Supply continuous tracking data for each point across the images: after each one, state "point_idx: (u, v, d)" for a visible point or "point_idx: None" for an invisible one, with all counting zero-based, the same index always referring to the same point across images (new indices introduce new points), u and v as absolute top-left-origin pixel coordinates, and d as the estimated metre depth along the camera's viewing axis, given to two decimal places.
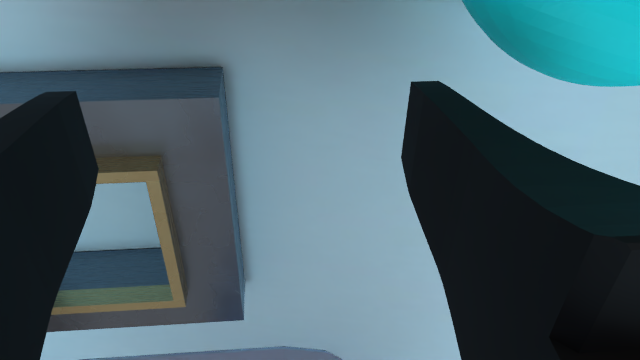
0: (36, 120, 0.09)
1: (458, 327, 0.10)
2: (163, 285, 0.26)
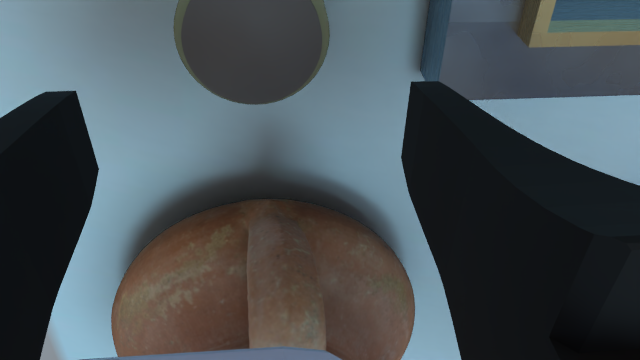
0: (36, 120, 0.09)
1: (458, 327, 0.10)
2: None
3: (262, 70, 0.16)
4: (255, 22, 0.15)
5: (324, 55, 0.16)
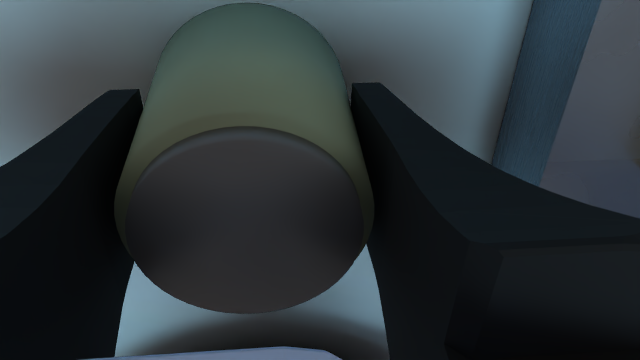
0: (111, 118, 0.10)
1: (388, 332, 0.10)
2: None
3: (263, 272, 0.10)
4: (252, 211, 0.09)
5: (364, 242, 0.10)
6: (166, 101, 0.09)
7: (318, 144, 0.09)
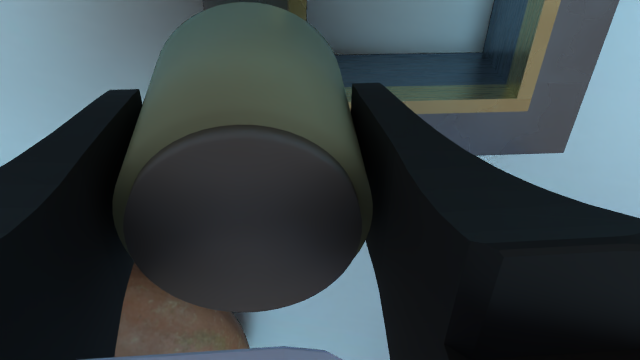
0: (111, 118, 0.10)
1: (388, 332, 0.10)
2: (489, 84, 0.19)
3: (261, 271, 0.10)
4: (250, 209, 0.09)
5: (362, 242, 0.10)
6: (165, 100, 0.09)
7: (316, 144, 0.09)
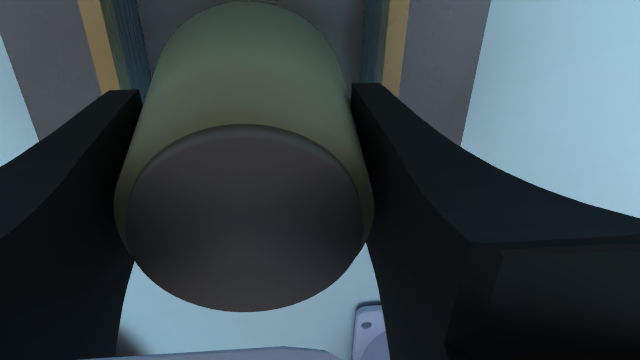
0: (111, 118, 0.10)
1: (388, 332, 0.10)
2: None
3: (263, 271, 0.10)
4: (252, 209, 0.09)
5: (363, 241, 0.10)
6: (167, 98, 0.09)
7: (318, 143, 0.09)
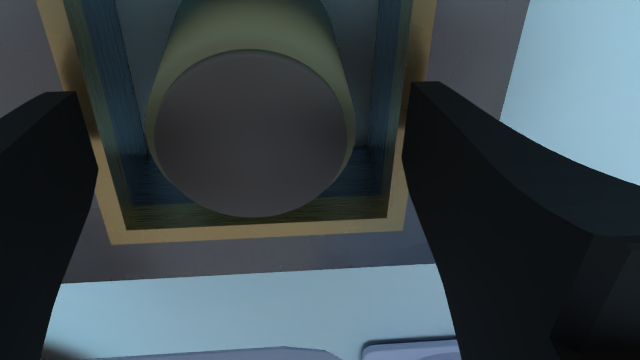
0: (36, 120, 0.09)
1: (458, 327, 0.10)
2: (360, 196, 0.16)
3: (265, 178, 0.12)
4: (256, 121, 0.11)
5: (348, 156, 0.12)
6: (187, 34, 0.11)
7: (309, 67, 0.11)
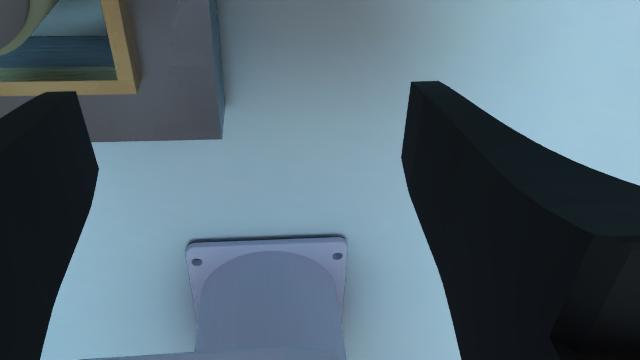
0: (36, 120, 0.09)
1: (458, 327, 0.10)
2: (105, 67, 0.18)
3: None
4: None
5: (37, 3, 0.15)
6: None
7: None
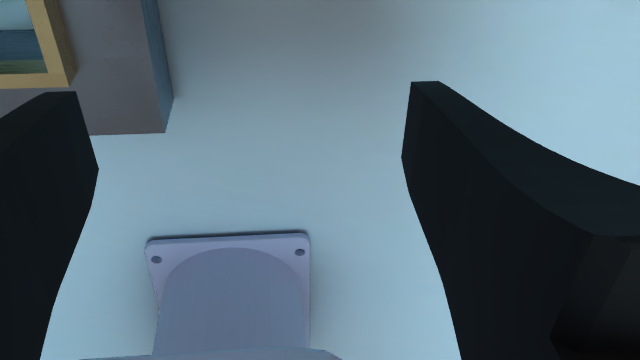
0: (36, 120, 0.09)
1: (458, 327, 0.10)
2: (39, 60, 0.18)
3: None
4: None
5: None
6: None
7: None
